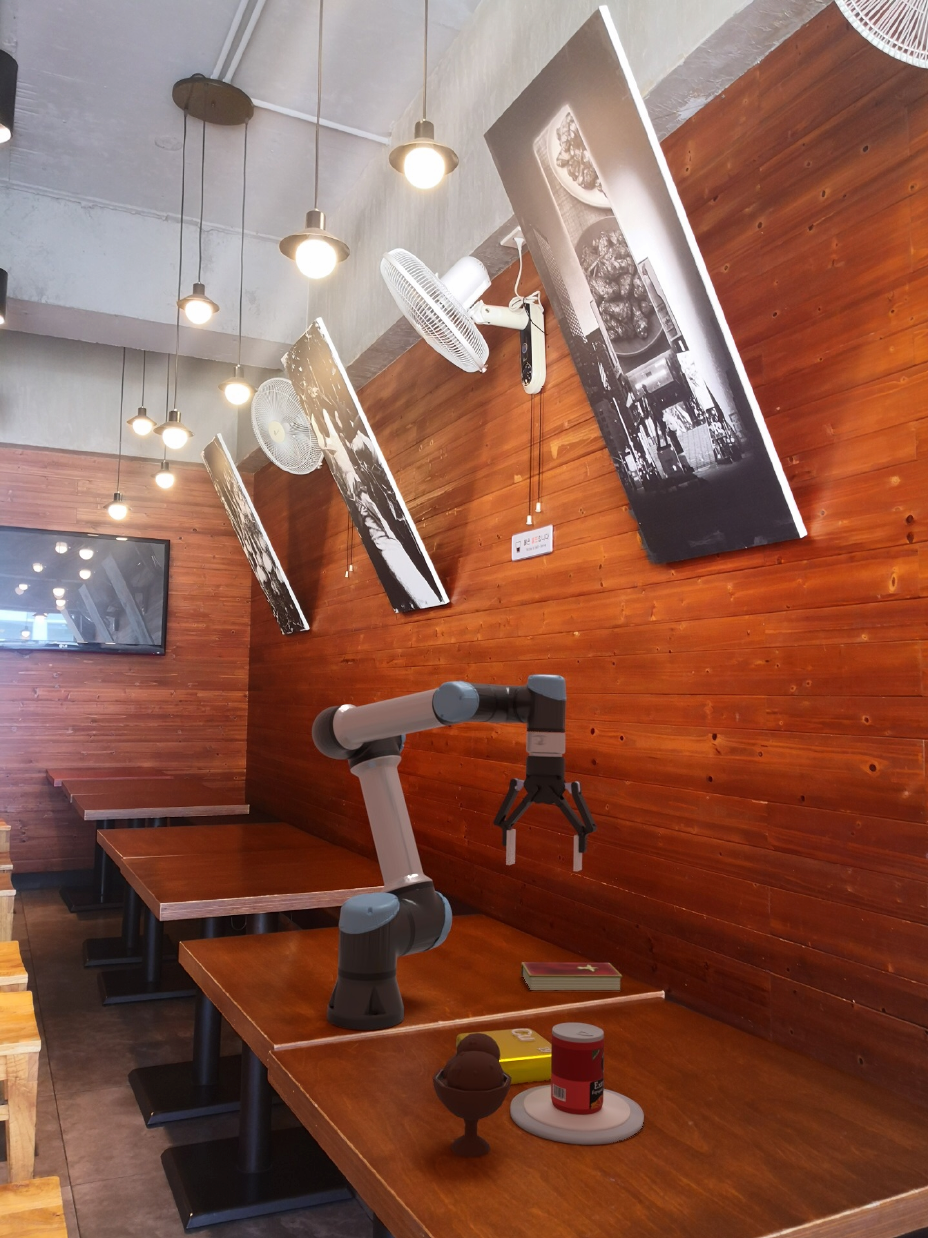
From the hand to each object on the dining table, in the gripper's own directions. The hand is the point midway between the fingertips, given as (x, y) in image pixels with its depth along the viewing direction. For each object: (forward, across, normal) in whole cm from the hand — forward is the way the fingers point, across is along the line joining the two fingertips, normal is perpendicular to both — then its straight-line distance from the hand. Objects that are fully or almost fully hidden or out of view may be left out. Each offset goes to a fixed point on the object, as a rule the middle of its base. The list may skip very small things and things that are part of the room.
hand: (543, 867), depth 183 cm
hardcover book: (+32, -8, +40) cm, 52 cm away
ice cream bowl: (+32, +8, -48) cm, 58 cm away
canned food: (+30, +17, -30) cm, 46 cm away
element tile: (+32, 0, -16) cm, 36 cm away
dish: (+32, +17, -30) cm, 47 cm away
